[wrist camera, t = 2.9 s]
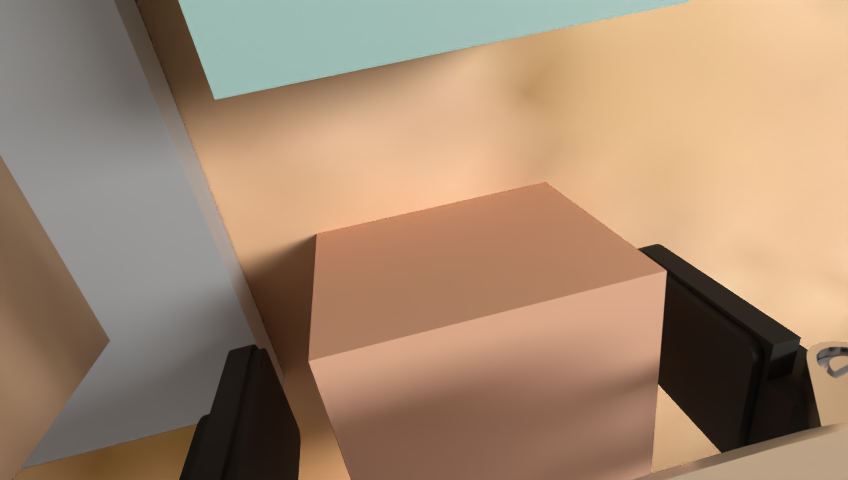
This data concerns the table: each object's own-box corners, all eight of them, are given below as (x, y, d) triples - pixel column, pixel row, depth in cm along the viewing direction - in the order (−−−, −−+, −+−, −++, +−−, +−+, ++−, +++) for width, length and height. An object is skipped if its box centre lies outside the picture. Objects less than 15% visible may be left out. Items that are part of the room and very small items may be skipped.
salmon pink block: (543, 180, 12) (666, 271, 8) (552, 356, 15) (648, 499, 10) (316, 232, 12) (308, 361, 7) (368, 405, 14) (386, 578, 10)
